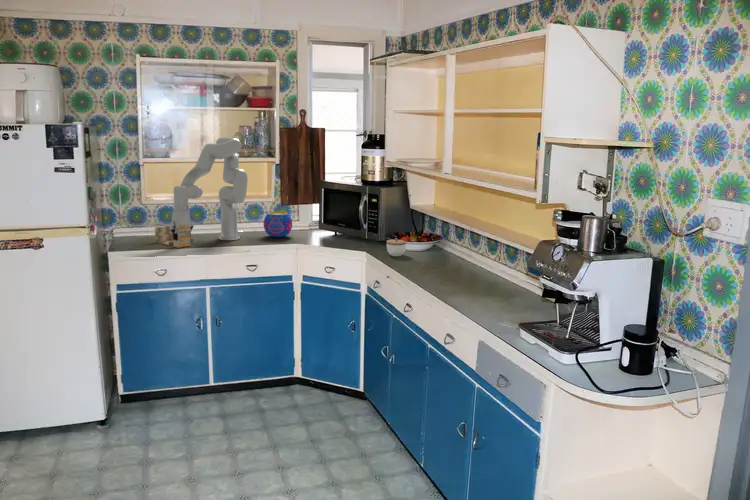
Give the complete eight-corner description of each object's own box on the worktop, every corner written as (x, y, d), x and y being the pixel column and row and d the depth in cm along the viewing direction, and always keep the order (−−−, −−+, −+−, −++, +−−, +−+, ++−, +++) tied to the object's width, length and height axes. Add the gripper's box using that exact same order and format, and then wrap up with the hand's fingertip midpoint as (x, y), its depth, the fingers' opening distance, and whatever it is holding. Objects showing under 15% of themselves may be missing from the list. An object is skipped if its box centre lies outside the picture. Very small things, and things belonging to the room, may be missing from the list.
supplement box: (178, 248, 359) (178, 225, 356) (173, 247, 362) (172, 223, 359) (191, 246, 365) (190, 223, 363) (185, 244, 368) (185, 222, 365)
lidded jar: (387, 257, 351) (387, 240, 349) (385, 252, 362) (385, 236, 360) (406, 257, 352) (407, 240, 350) (404, 253, 363) (404, 236, 361)
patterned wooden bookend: (178, 238, 384) (178, 223, 382) (192, 241, 377) (192, 226, 375) (155, 242, 372) (154, 227, 370) (169, 245, 364) (169, 230, 362)
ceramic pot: (294, 234, 407) (294, 211, 404) (290, 240, 390) (290, 215, 387) (266, 233, 407) (266, 210, 404) (261, 239, 390) (260, 214, 387)
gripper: (189, 206, 368) (190, 236, 372) (163, 209, 354) (164, 240, 358) (198, 207, 364) (198, 238, 367) (172, 210, 350) (173, 242, 354)
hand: (182, 239), depth 363 cm, fingers closed on supplement box, 8 cm apart
